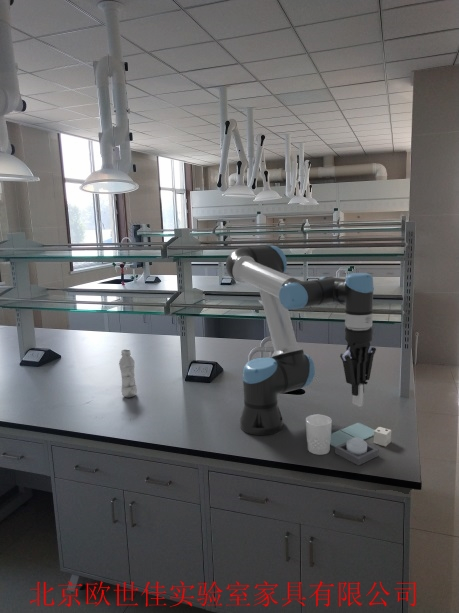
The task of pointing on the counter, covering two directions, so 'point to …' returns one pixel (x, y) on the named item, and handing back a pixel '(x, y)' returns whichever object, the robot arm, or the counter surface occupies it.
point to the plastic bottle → (127, 374)
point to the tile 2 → (359, 431)
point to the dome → (357, 446)
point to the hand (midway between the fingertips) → (357, 404)
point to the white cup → (318, 433)
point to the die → (382, 436)
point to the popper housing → (358, 460)
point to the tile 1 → (339, 438)
